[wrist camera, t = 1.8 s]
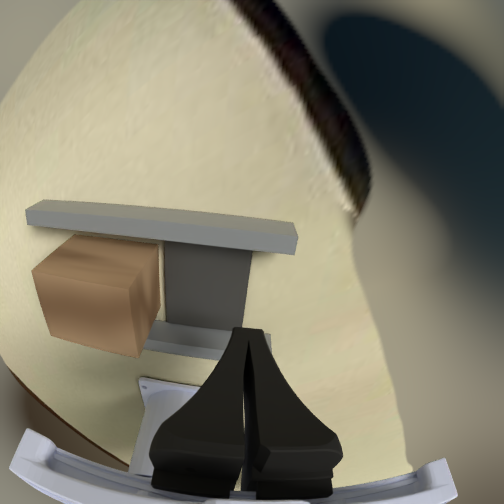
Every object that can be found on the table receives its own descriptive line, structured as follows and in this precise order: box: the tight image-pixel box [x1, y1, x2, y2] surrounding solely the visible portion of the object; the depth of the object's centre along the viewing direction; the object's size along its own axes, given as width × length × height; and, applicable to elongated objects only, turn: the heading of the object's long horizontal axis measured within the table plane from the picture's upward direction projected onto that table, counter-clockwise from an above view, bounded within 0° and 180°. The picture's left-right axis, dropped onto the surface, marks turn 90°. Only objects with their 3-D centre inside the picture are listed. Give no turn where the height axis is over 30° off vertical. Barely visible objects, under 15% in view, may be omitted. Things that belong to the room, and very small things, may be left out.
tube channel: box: [25, 200, 298, 360], centre depth 16 cm, size 9×16×2 cm, turn 83°
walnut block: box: [32, 234, 161, 358], centre depth 15 cm, size 4×6×5 cm
